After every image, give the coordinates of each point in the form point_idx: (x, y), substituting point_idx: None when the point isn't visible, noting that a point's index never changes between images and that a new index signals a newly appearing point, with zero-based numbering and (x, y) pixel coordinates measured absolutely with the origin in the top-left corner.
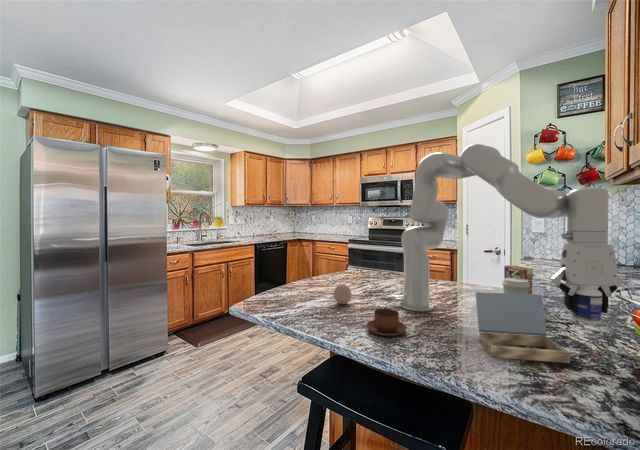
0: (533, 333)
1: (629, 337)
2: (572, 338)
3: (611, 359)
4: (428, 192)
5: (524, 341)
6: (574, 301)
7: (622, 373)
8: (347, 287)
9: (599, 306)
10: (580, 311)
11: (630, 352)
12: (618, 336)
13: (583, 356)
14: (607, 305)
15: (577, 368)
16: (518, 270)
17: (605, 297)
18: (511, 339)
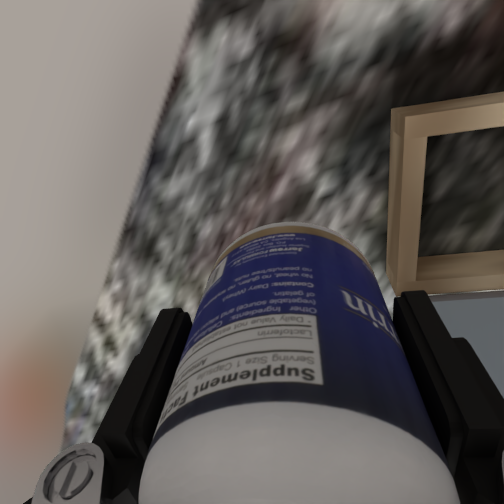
0: (461, 297)
1: (80, 391)
2: None
3: (198, 206)
4: None
5: (496, 260)
6: (461, 360)
7: (214, 69)
8: None
9: (224, 312)
10: (370, 288)
11: (113, 285)
12: (106, 392)
13: (291, 204)
14: (139, 354)
15: (387, 55)
16: None
17: (123, 429)
18: None
